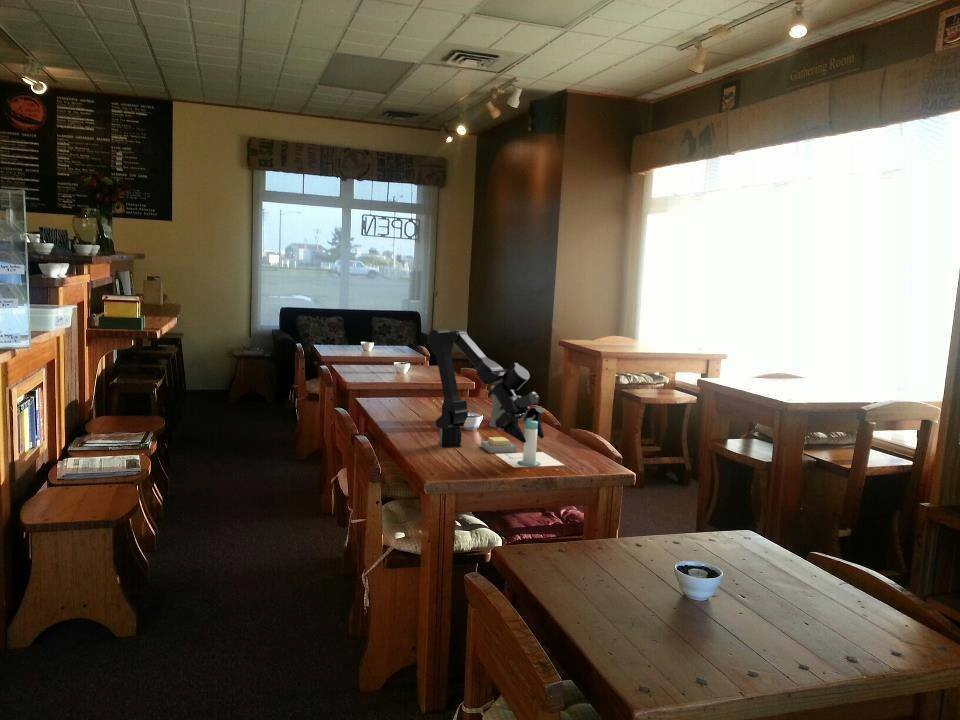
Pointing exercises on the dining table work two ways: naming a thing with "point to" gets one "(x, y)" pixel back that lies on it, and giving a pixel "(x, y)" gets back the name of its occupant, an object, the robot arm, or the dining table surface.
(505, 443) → the button
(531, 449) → the marker
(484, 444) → the button housing
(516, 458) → the drawing board
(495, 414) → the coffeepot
